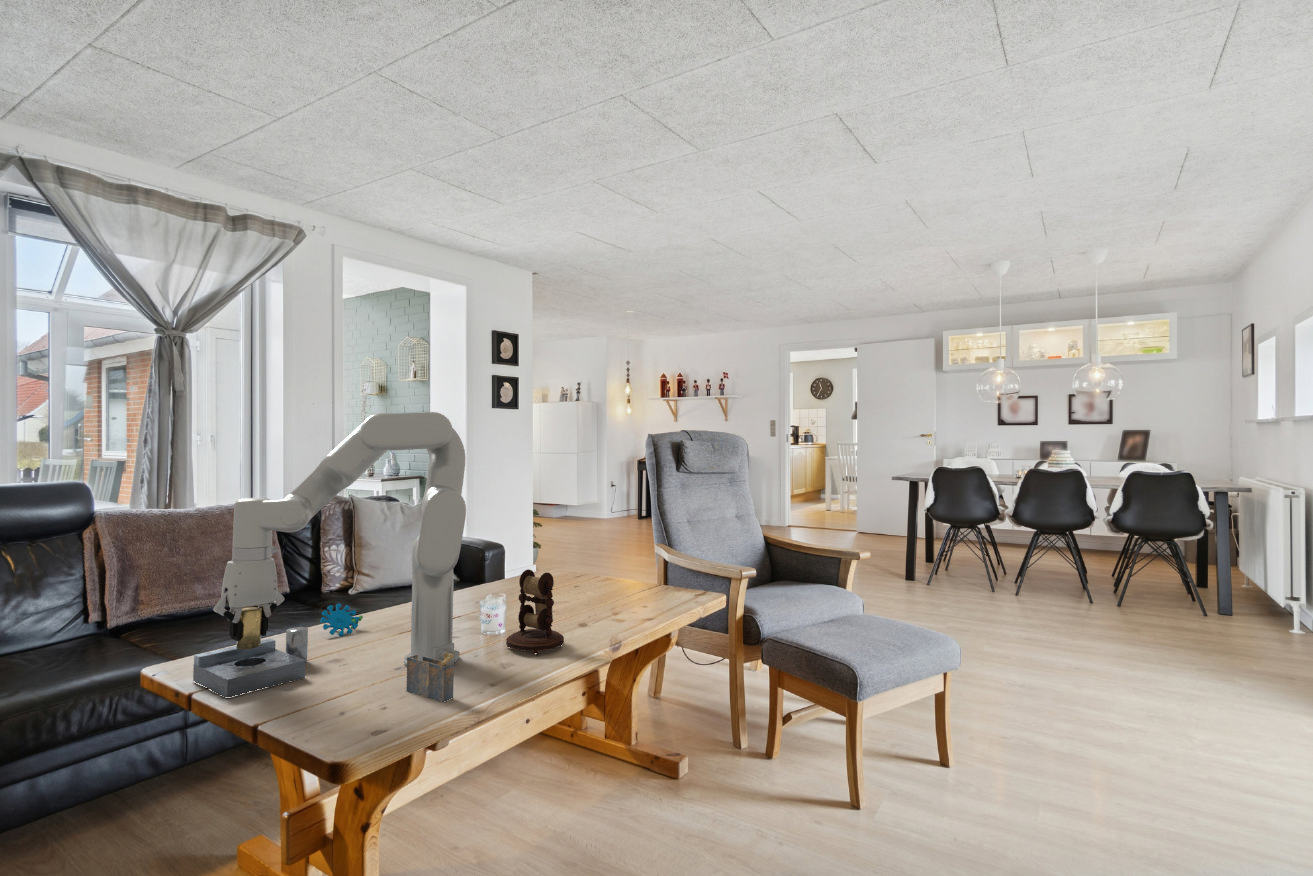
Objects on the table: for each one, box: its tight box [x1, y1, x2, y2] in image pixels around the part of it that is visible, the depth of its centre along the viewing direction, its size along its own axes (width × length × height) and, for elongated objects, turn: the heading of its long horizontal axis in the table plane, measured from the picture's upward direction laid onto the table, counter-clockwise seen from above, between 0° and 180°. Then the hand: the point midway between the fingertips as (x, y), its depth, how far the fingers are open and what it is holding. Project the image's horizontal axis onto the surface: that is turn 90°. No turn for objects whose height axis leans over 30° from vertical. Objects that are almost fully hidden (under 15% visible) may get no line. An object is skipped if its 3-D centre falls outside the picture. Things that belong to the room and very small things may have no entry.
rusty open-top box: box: [405, 652, 455, 703], centre depth 144 cm, size 11×3×10 cm, turn 59°
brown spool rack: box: [505, 569, 565, 654], centre depth 178 cm, size 15×15×20 cm
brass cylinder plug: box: [235, 606, 262, 649], centre depth 151 cm, size 5×5×8 cm
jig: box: [192, 638, 306, 697], centre depth 151 cm, size 16×16×6 cm
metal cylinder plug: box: [285, 626, 309, 665], centre depth 163 cm, size 5×5×8 cm
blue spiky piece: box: [319, 603, 364, 637], centre depth 190 cm, size 11×6×10 cm
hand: (248, 636), depth 151 cm, fingers closed on brass cylinder plug, 4 cm apart
